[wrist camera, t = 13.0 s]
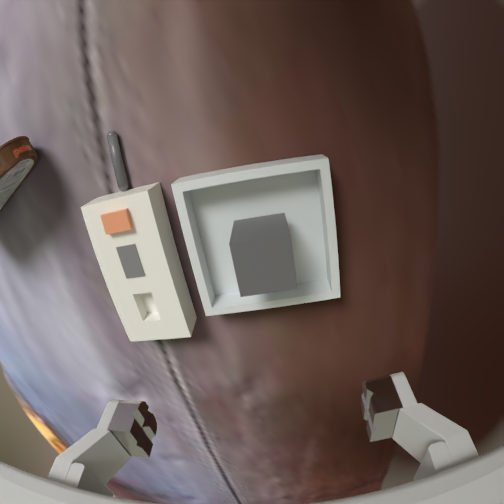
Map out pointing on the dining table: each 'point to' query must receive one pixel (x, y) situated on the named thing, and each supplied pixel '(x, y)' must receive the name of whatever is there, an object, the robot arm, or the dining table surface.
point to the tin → (15, 165)
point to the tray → (255, 205)
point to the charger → (263, 255)
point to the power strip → (140, 258)
